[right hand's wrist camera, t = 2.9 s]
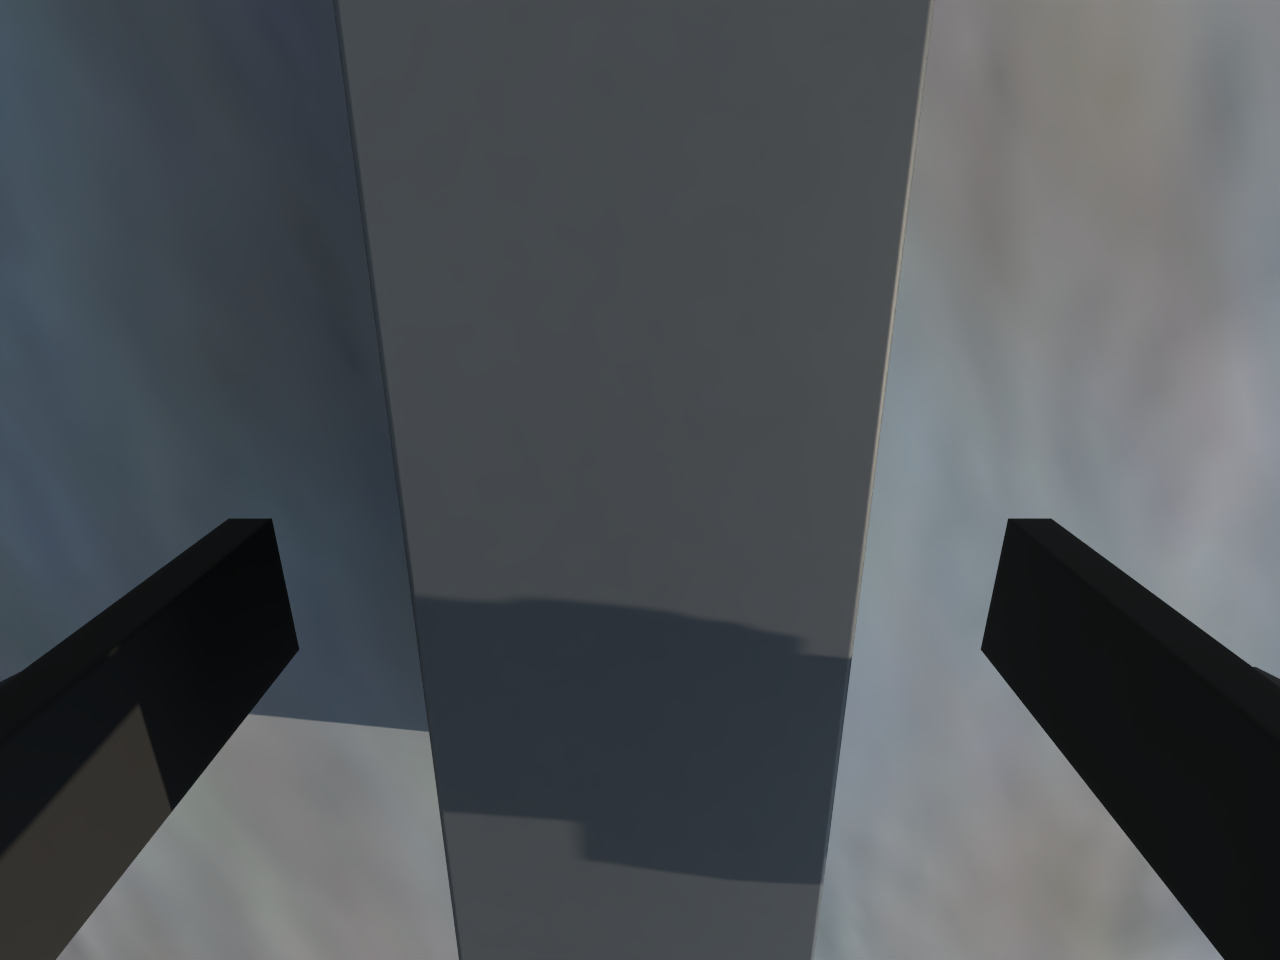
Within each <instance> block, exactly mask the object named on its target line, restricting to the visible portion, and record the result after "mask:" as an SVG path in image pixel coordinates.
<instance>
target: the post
mask: <svg viewBox="0 0 1280 960" xmlns="http://www.w3.org/2000/svg"><path fill="white" fill-rule="evenodd" d="M934 2H935V0H333V4H334V12H335V19H336V27H337V34H338V42H339V50H340V57H341V65H342V72H343V80H344V88H345V95H346V103H347V110H348V118H349V126H350V133H351V141H352V148H353V156H354V164H355V171H356V179H357V186H358V194H359V202H360V209H361V217H362V224H363V232H364V240H365V247H366V255H367V262H368V270H369V278H370V285H371V293H372V301H373V308H374V316H375V323H376V331H377V339H378V346H379V354H380V361H381V369H382V377H383V384H384V392H385V399H386V407H387V415H388V422H389V430H390V437H391V445H392V453H393V460H394V468H395V475H396V483H397V491H398V498H399V506H400V513H401V521H402V529H403V536H404V544H405V551H406V559H407V567H408V574H409V582H410V590H411V597H412V605H413V612H414V620H415V628H416V635H417V643H418V650H419V658H420V666H421V673H422V681H423V688H424V696H425V704H426V711H427V719H428V726H429V734H430V742H431V749H432V757H433V764H434V772H435V780H436V787H437V795H438V802H439V810H440V818H441V825H442V833H443V841H444V848H445V856H446V863H447V871H448V879H449V886H450V894H451V901H452V909H453V917H454V924H455V932H456V939H457V947H458V955H459V960H814V953H815V945H816V937H817V930H818V922H819V914H820V906H821V898H822V890H823V882H824V874H825V866H826V858H827V850H828V842H829V834H830V826H831V819H832V811H833V803H834V795H835V787H836V779H837V771H838V763H839V755H840V747H841V739H842V731H843V723H844V715H845V708H846V700H847V692H848V684H849V676H850V668H851V660H852V652H853V644H854V636H855V628H856V620H857V612H858V604H859V596H860V589H861V581H862V573H863V565H864V557H865V549H866V541H867V533H868V525H869V517H870V509H871V501H872V493H873V485H874V478H875V470H876V462H877V454H878V446H879V438H880V430H881V422H882V414H883V406H884V398H885V390H886V382H887V374H888V367H889V359H890V351H891V343H892V335H893V327H894V319H895V311H896V303H897V295H898V287H899V279H900V271H901V263H902V256H903V248H904V240H905V232H906V224H907V216H908V208H909V200H910V192H911V184H912V176H913V168H914V160H915V152H916V145H917V137H918V129H919V121H920V113H921V105H922V97H923V89H924V81H925V73H926V65H927V57H928V49H929V41H930V34H931V26H932V18H933V10H934Z"/></svg>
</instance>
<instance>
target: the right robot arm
mask: <svg viewBox="0 0 1280 960" xmlns="http://www.w3.org/2000/svg"><path fill="white" fill-rule="evenodd" d="M298 650H299V646H298V642H297V637H296V632H295V627H294V622H293V618H292V613H291V608H290V603H289V599H288V594H287V589H286V584H285V579H284V575H283V570H282V565H281V560H280V556H279V551H278V546H277V541H276V536H275V532H274V527H273V522H272V519H228V520H226V521H225V522H224V523H222V524H221V525H220V526H218V527H217V528H215V529H214V530H213V531H211V532H210V533H209V534H207V535H206V536H205V537H203V538H202V539H201V540H199V541H198V542H196V543H195V544H194V545H192V546H191V547H190V548H188V549H187V550H186V551H184V552H183V553H182V554H180V555H179V556H177V557H176V558H175V559H173V560H172V561H171V562H169V563H168V564H167V565H165V566H164V567H163V568H161V569H160V570H158V571H157V572H156V573H154V574H153V575H152V576H150V577H149V578H148V579H146V580H145V581H144V582H142V583H141V584H139V585H138V586H137V587H135V588H134V589H133V590H131V591H130V592H129V593H127V594H126V595H125V596H123V597H122V598H120V599H119V600H118V601H116V602H115V603H114V604H112V605H111V606H110V607H108V608H107V609H106V610H104V611H103V612H101V613H100V614H99V615H97V616H96V617H95V618H93V619H92V620H91V621H89V622H88V623H87V624H85V625H84V626H83V627H81V628H80V629H78V630H77V631H76V632H74V633H73V634H72V635H70V636H69V637H68V638H66V639H65V640H64V641H62V642H61V643H59V644H58V645H57V646H55V647H54V648H53V649H51V650H50V651H49V652H47V653H46V654H45V655H43V656H42V657H40V658H39V659H38V660H36V661H35V662H34V663H32V664H31V665H30V666H28V667H27V668H26V669H24V670H23V671H21V672H19V673H17V674H15V675H13V676H11V677H9V678H7V679H5V680H3V681H1V682H0V960H56V958H57V957H58V956H59V955H60V953H61V952H62V951H63V950H64V948H65V947H66V946H67V944H68V943H69V942H70V941H71V939H72V938H73V937H74V936H75V934H76V933H77V932H78V930H79V929H80V928H81V927H82V925H83V924H84V923H85V922H86V920H87V919H88V918H89V916H90V915H91V914H92V913H93V911H94V910H95V909H96V908H97V906H98V905H99V904H100V902H101V901H102V900H103V899H104V897H105V896H106V895H107V894H108V892H109V891H110V890H111V888H112V887H113V886H114V885H115V883H116V882H117V881H118V880H119V878H120V877H121V876H122V874H123V873H124V872H125V871H126V869H127V868H128V867H129V866H130V864H131V863H132V862H133V860H134V859H135V858H136V857H137V855H138V854H139V853H140V851H141V850H142V849H143V848H144V846H145V845H146V844H147V843H148V841H149V840H150V839H151V837H152V836H153V835H154V834H155V832H156V831H157V830H158V829H159V827H160V826H161V825H162V823H163V822H164V821H165V820H166V818H167V817H168V816H169V815H170V813H171V812H172V811H173V809H174V808H175V807H176V806H177V804H178V803H179V802H180V801H181V799H182V798H183V797H184V795H185V794H186V793H187V792H188V790H189V789H190V788H191V787H192V785H193V784H194V783H195V781H196V780H197V779H198V778H199V776H200V775H201V774H202V773H203V771H204V770H205V769H206V767H207V766H208V765H209V764H210V762H211V761H212V760H213V759H214V757H215V756H216V755H217V753H218V752H219V751H220V750H221V748H222V747H223V746H224V745H225V743H226V742H227V741H228V739H229V738H230V737H231V736H232V734H233V733H234V732H235V731H236V729H237V728H238V727H239V725H240V724H241V723H242V722H243V720H244V719H245V718H246V717H247V715H248V714H249V713H250V711H251V710H252V709H253V708H254V706H255V705H256V704H257V703H258V701H259V700H260V699H261V697H262V696H263V695H264V694H265V692H266V691H267V690H268V689H269V687H270V686H271V685H272V683H273V682H274V681H275V680H276V678H277V677H278V676H279V675H280V673H281V672H282V671H283V669H284V668H285V667H286V666H287V664H288V663H289V662H290V661H291V659H292V658H293V657H294V655H295V654H296V653H297V652H298ZM981 650H982V652H983V653H984V654H985V655H986V657H987V658H988V659H989V661H990V662H991V663H992V664H993V666H994V667H995V668H996V669H997V671H998V672H999V673H1000V675H1001V676H1002V677H1003V678H1004V680H1005V681H1006V682H1007V683H1008V685H1009V686H1010V687H1011V689H1012V690H1013V691H1014V692H1015V694H1016V695H1017V696H1018V697H1019V699H1020V700H1021V701H1022V703H1023V704H1024V705H1025V706H1026V708H1027V709H1028V710H1029V711H1030V713H1031V714H1032V715H1033V717H1034V718H1035V719H1036V720H1037V722H1038V723H1039V724H1040V725H1041V727H1042V728H1043V729H1044V731H1045V732H1046V733H1047V734H1048V736H1049V737H1050V738H1051V739H1052V741H1053V742H1054V743H1055V745H1056V746H1057V747H1058V748H1059V750H1060V751H1061V752H1062V753H1063V755H1064V756H1065V757H1066V759H1067V760H1068V761H1069V762H1070V764H1071V765H1072V766H1073V767H1074V769H1075V770H1076V771H1077V773H1078V774H1079V775H1080V776H1081V778H1082V779H1083V780H1084V781H1085V783H1086V784H1087V785H1088V787H1089V788H1090V789H1091V790H1092V792H1093V793H1094V794H1095V795H1096V797H1097V798H1098V799H1099V801H1100V802H1101V803H1102V804H1103V806H1104V807H1105V808H1106V809H1107V811H1108V812H1109V813H1110V815H1111V816H1112V817H1113V818H1114V820H1115V821H1116V822H1117V823H1118V825H1119V826H1120V827H1121V829H1122V830H1123V831H1124V832H1125V834H1126V835H1127V836H1128V837H1129V839H1130V840H1131V841H1132V843H1133V844H1134V845H1135V846H1136V848H1137V849H1138V850H1139V851H1140V853H1141V854H1142V855H1143V857H1144V858H1145V859H1146V860H1147V862H1148V863H1149V864H1150V866H1151V867H1152V868H1153V869H1154V871H1155V872H1156V873H1157V874H1158V876H1159V877H1160V878H1161V880H1162V881H1163V882H1164V883H1165V885H1166V886H1167V887H1168V888H1169V890H1170V891H1171V892H1172V894H1173V895H1174V896H1175V897H1176V899H1177V900H1178V901H1179V902H1180V904H1181V905H1182V906H1183V908H1184V909H1185V910H1186V911H1187V913H1188V914H1189V915H1190V916H1191V918H1192V919H1193V920H1194V922H1195V923H1196V924H1197V925H1198V927H1199V928H1200V929H1201V930H1202V932H1203V933H1204V934H1205V936H1206V937H1207V938H1208V939H1209V941H1210V942H1211V943H1212V944H1213V946H1214V947H1215V948H1216V950H1217V951H1218V952H1219V953H1220V955H1221V956H1222V957H1223V958H1224V960H1280V679H1279V678H1277V677H1275V676H1273V675H1271V674H1269V673H1267V672H1265V671H1263V670H1261V669H1259V668H1257V667H1252V666H1250V665H1249V664H1248V663H1246V662H1245V661H1244V660H1242V659H1241V658H1240V657H1238V656H1237V655H1235V654H1234V653H1233V652H1231V651H1230V650H1229V649H1227V648H1226V647H1225V646H1223V645H1222V644H1221V643H1219V642H1218V641H1216V640H1215V639H1214V638H1212V637H1211V636H1210V635H1208V634H1207V633H1206V632H1204V631H1203V630H1202V629H1200V628H1199V627H1197V626H1196V625H1195V624H1193V623H1192V622H1191V621H1189V620H1188V619H1187V618H1185V617H1184V616H1183V615H1181V614H1180V613H1178V612H1177V611H1176V610H1174V609H1173V608H1172V607H1170V606H1169V605H1168V604H1166V603H1165V602H1164V601H1162V600H1161V599H1160V598H1158V597H1157V596H1155V595H1154V594H1153V593H1151V592H1150V591H1149V590H1147V589H1146V588H1145V587H1143V586H1142V585H1141V584H1139V583H1138V582H1136V581H1135V580H1134V579H1132V578H1131V577H1130V576H1128V575H1127V574H1126V573H1124V572H1123V571H1122V570H1120V569H1119V568H1117V567H1116V566H1115V565H1113V564H1112V563H1111V562H1109V561H1108V560H1107V559H1105V558H1104V557H1103V556H1101V555H1100V554H1098V553H1097V552H1096V551H1094V550H1093V549H1092V548H1090V547H1089V546H1088V545H1086V544H1085V543H1084V542H1082V541H1081V540H1079V539H1078V538H1077V537H1075V536H1074V535H1073V534H1071V533H1070V532H1069V531H1067V530H1066V529H1065V528H1063V527H1062V526H1060V525H1059V524H1058V523H1056V522H1055V521H1054V520H1052V519H1008V522H1007V527H1006V532H1005V536H1004V541H1003V546H1002V551H1001V556H1000V560H999V565H998V570H997V575H996V579H995V584H994V589H993V594H992V599H991V603H990V608H989V613H988V618H987V622H986V627H985V632H984V637H983V642H982V646H981Z"/></svg>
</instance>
